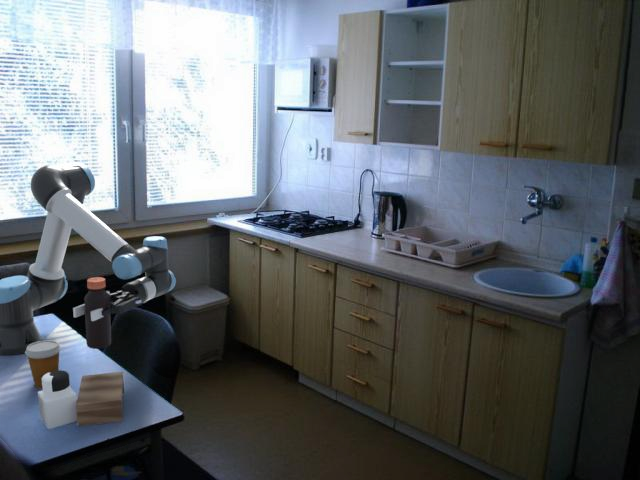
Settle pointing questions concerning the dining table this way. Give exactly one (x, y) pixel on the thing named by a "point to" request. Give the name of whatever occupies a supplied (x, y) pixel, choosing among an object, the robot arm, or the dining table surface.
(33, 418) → the dining table surface
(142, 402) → the dining table surface
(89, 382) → the wooden block
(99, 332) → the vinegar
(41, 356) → the disposable coffee cup
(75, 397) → the container
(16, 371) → the dining table surface
